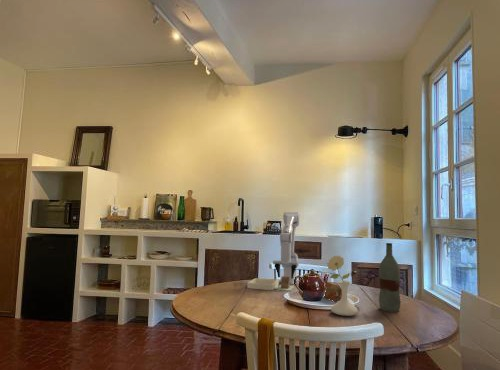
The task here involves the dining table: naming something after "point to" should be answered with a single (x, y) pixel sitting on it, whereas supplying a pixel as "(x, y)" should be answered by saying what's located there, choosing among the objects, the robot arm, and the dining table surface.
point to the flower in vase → (343, 305)
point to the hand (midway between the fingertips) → (285, 277)
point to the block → (285, 282)
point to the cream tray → (263, 284)
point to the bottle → (389, 282)
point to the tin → (333, 292)
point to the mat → (285, 288)
